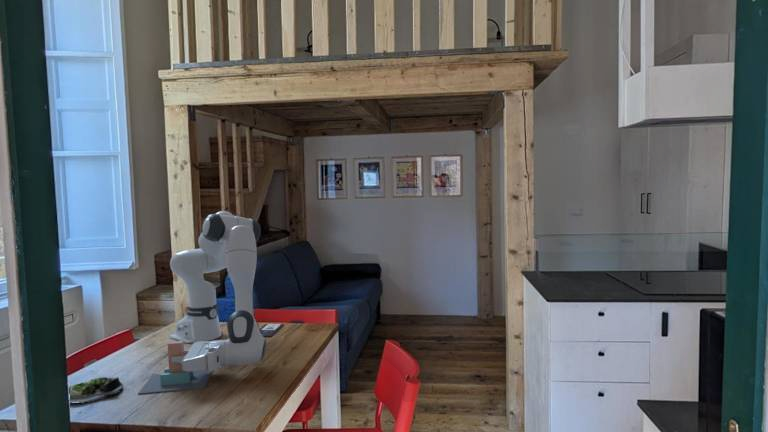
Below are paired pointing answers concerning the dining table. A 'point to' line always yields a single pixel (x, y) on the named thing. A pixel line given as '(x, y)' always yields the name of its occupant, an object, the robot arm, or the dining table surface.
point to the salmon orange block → (174, 350)
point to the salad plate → (95, 389)
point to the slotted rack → (175, 377)
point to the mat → (155, 384)
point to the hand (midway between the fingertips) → (173, 357)
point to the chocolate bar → (270, 329)
